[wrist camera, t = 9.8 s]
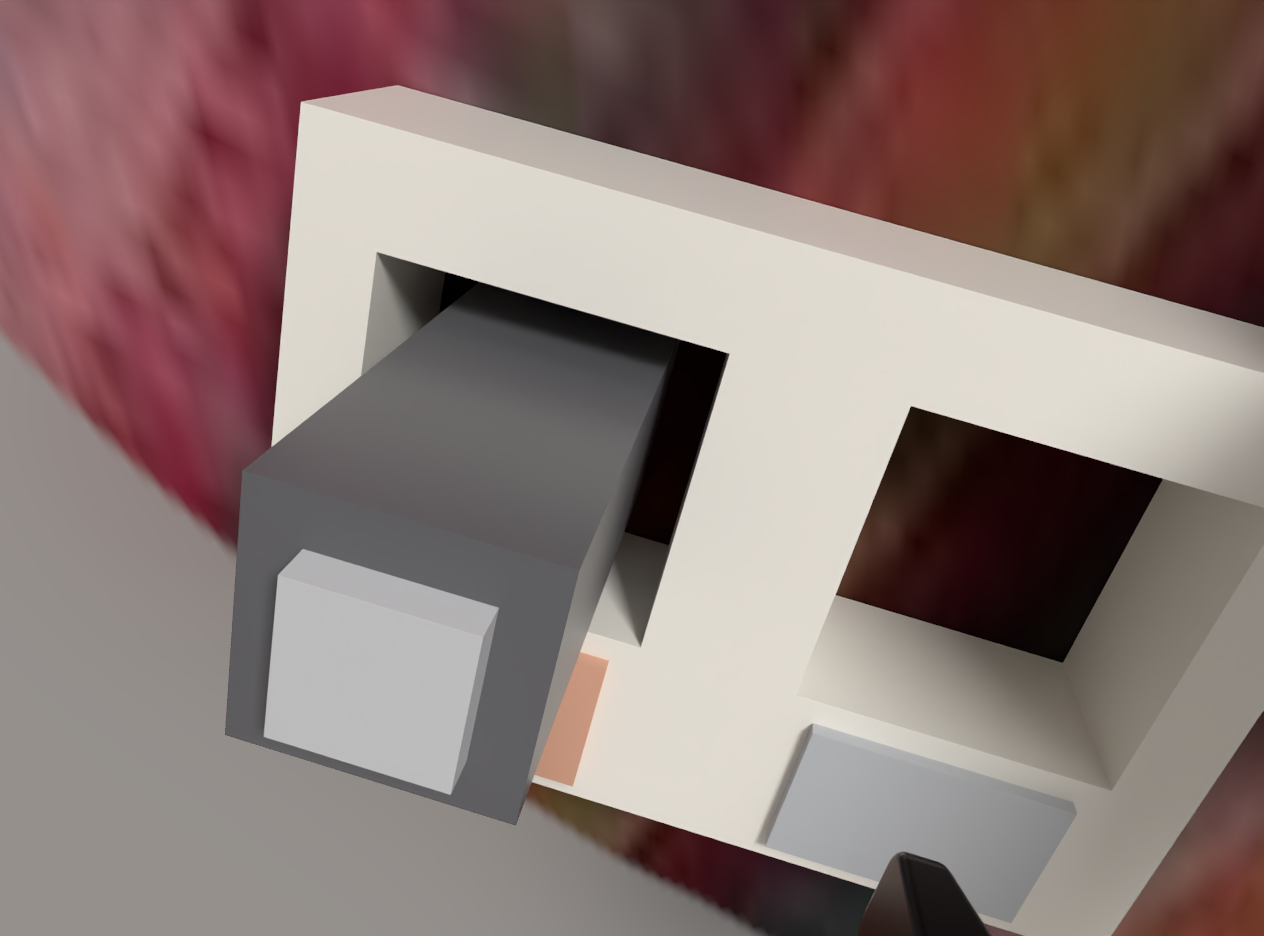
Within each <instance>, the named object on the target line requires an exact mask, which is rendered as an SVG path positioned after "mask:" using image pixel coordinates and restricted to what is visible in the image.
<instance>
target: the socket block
mask: <svg viewBox="0 0 1264 936" xmlns="http://www.w3.org/2000/svg"><path fill="white" fill-rule="evenodd" d="M446 272H448V273H451V274H455V275H458V276H462V277H465V278H469V279H472V280H476V281H479V282H483V283H486V284H490V285H493V286H497V287H500V288H503V289H507V290H510V291H514V292H517V293H521V294H524V295H528V296H531V297H535V298H538V299H542V300H545V301H549V302H552V303H556V304H559V305H562V306H566V307H569V308H573V309H576V310H580V311H583V312H587V313H590V314H594V315H597V316H601V317H604V318H608V319H611V320H614V321H618V322H621V323H625V324H628V325H632V326H635V327H639V328H642V329H646V330H649V331H653V332H656V333H660V334H663V335H666V336H670V337H673V338H677V339H680V340H684V341H687V342H691V343H694V344H698V345H701V346H705V347H708V348H712V349H715V350H718V351H722V352H725V353H727V354H726V357H725V360H724V364H723V367H722V370H721V374H720V377H719V380H718V384H717V387H716V390H715V394H714V397H713V400H712V403H711V407H710V410H709V413H708V417H707V420H706V423H705V427H704V430H703V433H702V437H701V440H700V443H699V447H698V450H697V453H696V457H695V460H694V463H693V467H692V470H691V473H690V476H689V480H688V483H687V486H686V490H685V493H684V496H683V500H682V503H681V506H680V510H679V513H678V516H677V520H676V523H675V526H674V530H673V533H672V536H671V540H670V543H669V545H666V544H663V543H660V542H656V541H653V540H649V539H646V538H643V537H639V536H636V535H633V534H629V533H626V532H624V535H623V537H622V540H621V543H620V546H619V548H618V551H617V554H616V556H615V559H614V562H613V564H612V567H611V570H610V572H609V575H608V578H607V581H606V583H605V586H604V589H603V591H602V594H601V597H600V599H599V602H598V605H597V608H596V610H595V613H594V616H593V618H592V621H591V624H590V626H589V629H588V632H587V634H586V637H585V640H584V643H583V645H582V648H581V651H580V653H579V656H578V659H577V661H576V664H575V667H574V670H573V672H572V675H571V678H570V680H569V683H568V686H567V688H566V691H565V694H564V696H563V699H562V702H561V705H560V707H559V710H558V713H557V715H556V718H555V721H554V723H553V726H552V729H551V732H550V734H549V737H548V740H547V742H546V745H545V748H544V750H543V753H542V756H541V758H540V761H539V764H538V767H537V769H536V772H535V775H534V777H533V780H532V782H534V783H537V784H540V785H543V786H546V787H550V788H553V789H556V790H559V791H562V792H566V793H569V794H572V795H575V796H578V797H582V798H585V799H588V800H591V801H594V802H598V803H601V804H604V805H607V806H610V807H614V808H617V809H620V810H623V811H626V812H630V813H633V814H636V815H639V816H643V817H646V818H649V819H652V820H655V821H659V822H662V823H665V824H668V825H671V826H675V827H678V828H681V829H684V830H687V831H691V832H694V833H697V834H700V835H703V836H707V837H710V838H713V839H716V840H719V841H723V842H726V843H729V844H732V845H735V846H739V847H742V848H745V849H748V850H751V851H755V852H758V853H761V854H764V855H767V856H771V857H774V858H777V859H780V860H783V861H787V862H790V863H793V864H796V865H799V866H803V867H806V868H809V869H812V870H815V871H819V872H822V873H825V874H828V875H831V876H835V877H838V878H841V879H844V880H847V881H851V882H854V883H857V884H860V885H863V886H867V887H870V888H873V889H876V888H877V885H878V883H879V881H880V879H881V877H882V875H883V873H884V871H885V869H886V867H887V865H888V863H889V861H890V859H891V858H892V857H893V856H894V855H895V854H896V853H898V852H908V853H912V854H915V855H918V856H921V857H925V858H928V859H931V860H934V861H938V862H940V863H942V864H943V865H945V866H946V867H947V868H948V869H949V871H950V872H951V873H952V875H953V876H954V878H955V880H956V881H957V883H958V884H959V886H960V887H961V889H962V890H963V892H964V894H965V895H966V897H967V898H968V900H969V901H970V903H971V904H972V906H973V908H974V909H975V911H976V912H977V914H978V915H979V917H980V918H981V920H982V922H983V923H985V924H988V925H992V926H995V927H998V928H1001V929H1004V930H1008V931H1011V932H1014V933H1017V934H1020V935H1024V936H1111V935H1112V934H1113V932H1114V931H1115V929H1116V928H1117V926H1118V925H1119V923H1120V922H1121V920H1122V919H1123V917H1124V916H1125V914H1126V913H1127V912H1128V910H1129V909H1130V907H1131V906H1132V904H1133V903H1134V901H1135V900H1136V898H1137V897H1138V895H1139V894H1140V892H1141V891H1142V889H1143V888H1144V886H1145V885H1146V883H1147V882H1148V880H1149V879H1150V878H1151V876H1152V875H1153V873H1154V872H1155V870H1156V869H1157V867H1158V866H1159V864H1160V863H1161V861H1162V860H1163V858H1164V857H1165V855H1166V854H1167V852H1168V851H1169V849H1170V848H1171V846H1172V845H1173V844H1174V842H1175V841H1176V839H1177V838H1178V836H1179V835H1180V833H1181V832H1182V830H1183V829H1184V827H1185V826H1186V824H1187V823H1188V821H1189V820H1190V818H1191V817H1192V815H1193V814H1194V812H1195V811H1196V810H1197V808H1198V807H1199V805H1200V804H1201V802H1202V801H1203V799H1204V798H1205V796H1206V795H1207V793H1208V792H1209V790H1210V789H1211V787H1212V786H1213V784H1214V783H1215V781H1216V780H1217V778H1218V777H1219V776H1220V774H1221V773H1222V771H1223V770H1224V768H1225V767H1226V765H1227V764H1228V762H1229V761H1230V759H1231V758H1232V756H1233V755H1234V753H1235V752H1236V750H1237V749H1238V747H1239V746H1240V744H1241V743H1242V741H1243V740H1244V739H1245V737H1246V736H1247V734H1248V733H1249V731H1250V730H1251V728H1252V727H1253V725H1254V724H1255V722H1256V721H1257V719H1258V718H1259V716H1260V715H1261V713H1262V712H1263V710H1264V327H1260V326H1257V325H1253V324H1249V323H1246V322H1242V321H1239V320H1235V319H1232V318H1228V317H1224V316H1221V315H1217V314H1214V313H1210V312H1207V311H1203V310H1199V309H1196V308H1192V307H1189V306H1185V305H1182V304H1178V303H1174V302H1171V301H1167V300H1164V299H1160V298H1157V297H1153V296H1149V295H1146V294H1142V293H1139V292H1135V291H1132V290H1128V289H1124V288H1121V287H1117V286H1114V285H1110V284H1107V283H1103V282H1099V281H1096V280H1092V279H1089V278H1085V277H1082V276H1078V275H1074V274H1071V273H1067V272H1064V271H1060V270H1056V269H1053V268H1049V267H1046V266H1042V265H1039V264H1035V263H1031V262H1028V261H1024V260H1021V259H1017V258H1014V257H1010V256H1006V255H1003V254H999V253H996V252H992V251H989V250H985V249H981V248H978V247H974V246H971V245H967V244H964V243H960V242H956V241H953V240H949V239H946V238H942V237H939V236H935V235H931V234H928V233H924V232H921V231H917V230H914V229H910V228H906V227H903V226H899V225H896V224H892V223H889V222H885V221H881V220H878V219H874V218H871V217H867V216H864V215H860V214H856V213H853V212H849V211H846V210H842V209H838V208H835V207H831V206H828V205H824V204H821V203H817V202H813V201H810V200H806V199H803V198H799V197H796V196H792V195H788V194H785V193H781V192H778V191H774V190H771V189H767V188H763V187H760V186H756V185H753V184H749V183H746V182H742V181H738V180H735V179H731V178H728V177H724V176H721V175H717V174H713V173H710V172H706V171H703V170H699V169H696V168H692V167H688V166H685V165H681V164H678V163H674V162H671V161H667V160H663V159H660V158H656V157H653V156H649V155H645V154H642V153H638V152H635V151H631V150H628V149H624V148H620V147H617V146H613V145H610V144H606V143H603V142H599V141H595V140H592V139H588V138H585V137H581V136H578V135H574V134H570V133H567V132H563V131H560V130H556V129H553V128H549V127H545V126H542V125H538V124H535V123H531V122H528V121H524V120H520V119H517V118H513V117H510V116H506V115H503V114H499V113H495V112H492V111H488V110H485V109H481V108H478V107H474V106H470V105H467V104H463V103H460V102H456V101H453V100H449V99H445V98H442V97H438V96H435V95H431V94H427V93H424V92H420V91H417V90H413V89H410V88H406V87H402V86H399V85H396V86H390V87H384V88H379V89H373V90H367V91H361V92H355V93H349V94H343V95H338V96H332V97H326V98H320V99H314V100H308V101H303V102H301V108H300V120H299V132H298V143H297V155H296V166H295V178H294V190H293V201H292V213H291V225H290V236H289V248H288V260H287V271H286V283H285V295H284V306H283V318H282V329H281V341H280V353H279V364H278V376H277V388H276V399H275V411H274V423H273V434H272V446H274V445H275V444H276V443H277V442H279V441H280V440H281V439H282V438H284V437H285V436H286V435H288V434H289V433H290V432H291V431H293V430H294V429H295V428H296V427H298V426H299V425H300V424H301V423H303V422H304V421H305V420H306V419H308V418H309V417H310V416H311V415H313V414H314V413H315V412H316V411H318V410H319V409H320V408H322V407H323V406H324V405H325V404H327V403H328V402H329V401H330V400H332V399H333V398H334V397H335V396H337V395H338V394H339V393H340V392H342V391H343V390H344V389H345V388H347V387H348V386H349V385H350V384H352V383H353V382H354V381H356V380H357V379H358V378H359V377H361V376H362V375H363V374H364V373H366V372H367V371H368V370H369V369H371V368H372V367H373V366H374V365H376V364H377V363H378V362H379V361H381V360H382V359H383V358H384V357H386V356H387V355H388V354H390V353H391V352H392V351H393V350H395V349H396V348H397V347H398V346H400V345H401V344H402V343H403V342H405V341H406V340H407V339H408V338H410V337H411V336H412V335H413V334H415V333H416V332H417V331H418V330H420V329H421V328H422V327H424V326H425V325H426V324H427V323H429V322H430V321H431V320H432V319H434V318H435V317H436V316H437V315H439V311H440V305H441V299H442V292H443V286H444V280H445V274H446ZM911 406H913V407H916V408H920V409H923V410H927V411H930V412H933V413H937V414H940V415H944V416H947V417H951V418H954V419H958V420H961V421H965V422H968V423H972V424H975V425H979V426H982V427H986V428H989V429H992V430H996V431H999V432H1003V433H1006V434H1010V435H1013V436H1017V437H1020V438H1024V439H1027V440H1031V441H1034V442H1038V443H1041V444H1044V445H1048V446H1051V447H1055V448H1058V449H1062V450H1065V451H1069V452H1072V453H1076V454H1079V455H1083V456H1086V457H1090V458H1093V459H1096V460H1100V461H1103V462H1107V463H1110V464H1114V465H1117V466H1121V467H1124V468H1128V469H1131V470H1135V471H1138V472H1142V473H1145V474H1148V475H1152V476H1155V477H1159V478H1162V479H1163V480H1162V482H1161V484H1160V485H1159V487H1158V489H1157V491H1156V493H1155V495H1154V496H1153V498H1152V500H1151V502H1150V504H1149V506H1148V507H1147V509H1146V511H1145V513H1144V515H1143V517H1142V518H1141V520H1140V522H1139V524H1138V526H1137V528H1136V529H1135V531H1134V533H1133V535H1132V537H1131V539H1130V540H1129V542H1128V544H1127V546H1126V548H1125V550H1124V552H1123V553H1122V555H1121V557H1120V559H1119V561H1118V563H1117V564H1116V566H1115V568H1114V570H1113V572H1112V574H1111V575H1110V577H1109V579H1108V581H1107V583H1106V585H1105V586H1104V588H1103V590H1102V592H1101V594H1100V596H1099V597H1098V599H1097V601H1096V603H1095V605H1094V607H1093V608H1092V610H1091V612H1090V614H1089V616H1088V618H1087V619H1086V621H1085V623H1084V625H1083V627H1082V629H1081V630H1080V632H1079V634H1078V636H1077V638H1076V640H1075V641H1074V643H1073V645H1072V647H1071V649H1070V651H1069V653H1068V654H1067V656H1066V658H1065V660H1064V662H1063V663H1061V662H1058V661H1055V660H1051V659H1048V658H1045V657H1041V656H1038V655H1035V654H1031V653H1028V652H1025V651H1021V650H1018V649H1015V648H1011V647H1008V646H1004V645H1001V644H998V643H994V642H991V641H988V640H984V639H981V638H978V637H974V636H971V635H968V634H964V633H961V632H958V631H954V630H951V629H948V628H944V627H941V626H938V625H934V624H931V623H927V622H924V621H921V620H917V619H914V618H911V617H907V616H904V615H901V614H897V613H894V612H891V611H887V610H884V609H881V608H877V607H874V606H871V605H867V604H864V603H860V602H857V601H854V600H850V599H847V598H844V597H840V596H837V595H835V594H836V592H837V589H838V587H839V584H840V582H841V579H842V577H843V574H844V572H845V569H846V567H847V564H848V562H849V559H850V557H851V554H852V552H853V549H854V547H855V544H856V542H857V539H858V537H859V534H860V532H861V529H862V527H863V524H864V522H865V519H866V517H867V514H868V512H869V509H870V507H871V505H872V502H873V500H874V497H875V495H876V492H877V490H878V487H879V485H880V482H881V480H882V477H883V475H884V472H885V470H886V467H887V465H888V462H889V460H890V457H891V455H892V452H893V450H894V447H895V445H896V442H897V440H898V437H899V435H900V432H901V430H902V427H903V425H904V422H905V420H906V417H907V415H908V412H909V410H910V407H911ZM272 446H271V447H272Z"/></svg>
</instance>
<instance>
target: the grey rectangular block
mask: <svg viewBox="0 0 1264 936" xmlns="http://www.w3.org/2000/svg"><path fill="white" fill-rule="evenodd" d="M679 344H680V339H677V338H673V337H670V336H666V335H663V334H660V333H656V332H653V331H649V330H646V329H642V328H639V327H635V326H632V325H628V324H625V323H621V322H618V321H614V320H611V319H608V318H604V317H601V316H597V315H594V314H590V313H587V312H583V311H580V310H576V309H573V308H569V307H566V306H562V305H559V304H556V303H552V302H549V301H545V300H542V299H538V298H535V297H531V296H528V295H524V294H521V293H517V292H514V291H510V290H507V289H503V288H500V287H497V286H493V285H490V284H486V283H483V282H479V283H478V284H476V285H475V286H474V287H473V288H471V289H470V290H469V291H468V292H466V293H465V294H464V295H463V296H461V297H460V298H459V299H458V300H456V301H455V302H454V303H452V304H451V305H450V306H449V307H447V308H446V309H445V310H444V311H442V312H441V313H440V314H439V315H437V316H436V317H435V318H434V319H432V320H431V321H430V322H429V323H427V324H426V325H425V326H424V327H422V328H421V329H420V330H418V331H417V332H416V333H415V334H413V335H412V336H411V337H410V338H408V339H407V340H406V341H405V342H403V343H402V344H401V345H400V346H398V347H397V348H396V349H395V350H393V351H392V352H391V353H390V354H388V355H387V356H386V357H384V358H383V359H382V360H381V361H379V362H378V363H377V364H376V365H374V366H373V367H372V368H371V369H369V370H368V371H367V372H366V373H364V374H363V375H362V376H361V377H359V378H358V379H357V380H356V381H354V382H353V383H352V384H350V385H349V386H348V387H347V388H345V389H344V390H343V391H342V392H340V393H339V394H338V395H337V396H335V397H334V398H333V399H332V400H330V401H329V402H328V403H327V404H325V405H324V406H323V407H322V408H320V409H319V410H318V411H316V412H315V413H314V414H313V415H311V416H310V417H309V418H308V419H306V420H305V421H304V422H303V423H301V424H300V425H299V426H298V427H296V428H295V429H294V430H293V431H291V432H290V433H289V434H288V435H286V436H285V437H284V438H282V439H281V440H280V441H279V442H277V443H276V444H275V445H274V446H272V447H271V448H270V449H269V450H267V451H266V452H265V453H264V454H262V455H261V456H260V457H259V458H257V459H256V460H255V461H254V462H252V463H251V464H250V465H248V466H247V467H246V468H245V469H243V470H242V486H241V501H240V516H239V531H238V546H237V561H236V577H235V592H234V607H233V622H232V639H231V653H230V668H229V683H228V698H227V713H226V714H227V715H226V728H225V735H227V736H231V737H234V738H237V739H240V740H243V741H247V742H250V743H253V744H256V745H259V746H263V747H266V748H269V749H273V750H275V751H279V752H282V753H285V754H289V755H292V756H295V757H298V758H301V759H305V760H307V761H311V762H314V763H317V764H320V765H324V766H327V767H330V768H334V769H336V770H340V771H343V772H346V773H349V774H353V775H356V776H359V777H362V778H365V779H368V780H372V781H375V782H378V783H381V784H385V785H388V786H391V787H394V788H397V789H401V790H404V791H407V792H410V793H413V794H417V795H420V796H423V797H427V798H430V799H433V800H436V801H439V802H442V803H445V804H449V805H452V806H455V807H458V808H461V809H465V810H468V811H471V812H474V813H478V814H481V815H484V816H487V817H491V818H494V819H497V820H500V821H503V822H506V823H510V824H513V825H516V823H517V820H518V817H519V815H520V812H521V810H522V807H523V804H524V802H525V799H526V796H527V794H528V791H529V788H530V785H531V783H532V780H533V777H534V775H535V772H536V769H537V767H538V764H539V761H540V758H541V756H542V753H543V750H544V748H545V745H546V742H547V740H548V737H549V734H550V732H551V729H552V726H553V723H554V721H555V718H556V715H557V713H558V710H559V707H560V705H561V702H562V699H563V696H564V694H565V691H566V688H567V686H568V683H569V680H570V678H571V675H572V672H573V670H574V667H575V664H576V661H577V659H578V656H579V653H580V651H581V648H582V645H583V643H584V640H585V637H586V634H587V632H588V629H589V626H590V624H591V621H592V618H593V616H594V613H595V610H596V608H597V605H598V602H599V599H600V597H601V594H602V591H603V589H604V586H605V583H606V581H607V578H608V575H609V572H610V570H611V567H612V564H613V562H614V559H615V556H616V554H617V551H618V548H619V546H620V543H621V540H622V537H623V535H624V532H625V529H626V527H627V524H628V521H629V519H630V516H631V513H632V510H633V508H634V505H635V502H636V500H637V497H638V494H639V492H640V488H641V484H642V481H643V477H644V473H645V469H646V466H647V462H648V458H649V455H650V451H651V447H652V444H653V440H654V436H655V433H656V429H657V425H658V422H659V418H660V414H661V410H662V407H663V403H664V399H665V396H666V392H667V388H668V385H669V381H670V377H671V374H672V370H673V366H674V362H675V359H676V355H677V351H678V348H679Z"/></svg>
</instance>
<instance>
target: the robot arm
mask: <svg viewBox="0 0 1264 936" xmlns="http://www.w3.org/2000/svg"><path fill="white" fill-rule="evenodd" d="M858 936H991V934H990V933H989V931H988V929H987V928H986V926H985V925H984V923H983V922H982V920H981V918H980V917H979V915H978V914H977V912H976V911H975V909H974V908H973V906H972V904H971V903H970V901H969V900H968V898H967V897H966V895H965V894H964V892H963V890H962V889H961V887H960V886H959V884H958V883H957V881H956V880H955V878H954V876H953V875H952V873H951V872H950V871H949V869H948V868H947V867H946V866H945V865H943V864H942V863H940V862H938V861H934V860H931V859H928V858H925V857H921V856H918V855H915V854H912V853H908V852H898V853H896V854H895V855H894V856H893V857H892V858H891V859H890V861H889V863H888V865H887V867H886V869H885V871H884V873H883V875H882V877H881V879H880V881H879V883H878V885H877V888H876V890H875V892H874V894H873V896H872V898H871V900H870V902H869V904H868V906H867V908H866V910H865V912H864V915H863V918H862V921H861V924H860V929H859V934H858Z"/></svg>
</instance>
